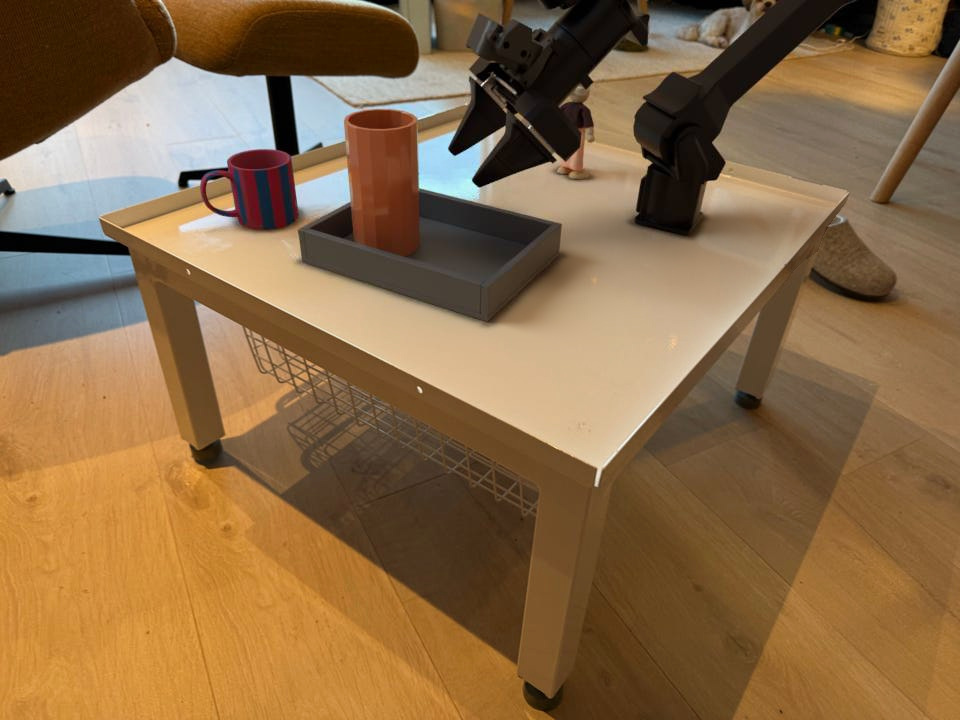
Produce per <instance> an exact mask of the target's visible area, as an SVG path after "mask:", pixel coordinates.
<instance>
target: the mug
mask: <svg viewBox="0 0 960 720" xmlns="http://www.w3.org/2000/svg"><path fill="white" fill-rule="evenodd" d="M226 163H227V170H211V171H208V172H206V173H205V174H203V176H202V177H201V180H200V184H199V190H200V196H201V199H202V201H203V203H204V205H205V207H206V208H207V209H208V210H210V211H211V212H213V213H215V214H216V215H219V216H221V217H226V218H236V220H237V222H238V223H239V224H240V225H241V226H242V227H244V228H246V229H250V230H256V231H271V230H277V229H282V228H286V227H288V226H290V225H292V224H294V223H295V222H296V221H297V220H298V219H299V216H300V214H299V205H298V197H297V190H296V182H295V176H294V175H295V174H294V169H293V160H292V156H291V154H289V153H288V152H285V151H283V150H279V149H271V148H259V149H258V148H257V149H249V150H244V151H240V152H237V153H234V154H232V155H231V156H229V158H228V159H227V160H226ZM214 177H223V178H226V179H227V180H229V182H230V188H231V193H232V198H233V205H234V209H232V210H224V209H220V208H218V207H216V206H215V207H214V206H213V204H211V202H210V201H209V199H208V195H207V185H208V182H209V181H210V180H211V179H213V178H214Z"/></svg>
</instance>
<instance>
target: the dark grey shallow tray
mask: <svg viewBox="0 0 960 720" xmlns="http://www.w3.org/2000/svg"><path fill="white" fill-rule="evenodd" d="M419 203H420V247H419V249H418V250H417V251H416V252H414V253H413V254H411V255H408V256H406V257H403V256H399V255H396V254H393V253H389V252H386V251H383V250H379V249H376V248H373V247H369V246H366V245H363V244H359V243H356V242H355V241H354V236H353V224H352V212H351V201H349V202H347V203H345V204H343V205H341V206H340V207H338V208H336V209H334V210H332V211H330V212H328V213H326V214H324V215H322V216H320V217H319V218H316V219H315V220H313V221H311V222H309V223H307V224H305V225H303V226H302V227H299V228H298V229H297V233H298V240H299V241H298V242H299V249H300V255H301V257H300V258H301V262H302V263H305V264H308V265H311V266H314V267H317V268H319V269H323V270H326V271H328V272H329V271H330V272H333V273H336V274H337V275H338V274H339V275H341V276H345V277H348V278H351V279H354V280H357V281H359V282H360V281H361V282H363V283H366V284H370V285H372V286H375V287H378V288H382V289H385V290H388V291H390V292H391V291H392V292H393V293H397V294H400V295H403V296H406V297H410V298H412V299H416V300H419V301H422V302H425V303H428V304H432V305H435V306H437V307H441V308H443V309H447V310H449V311H452V312H456V313H459V314H461V315H462V314H463V315H466V316H469V317H471V318H474V319H478V320H481V321H483V322H487V323H488V322H489V321H490V320H491V319H493V317H494V316H496V315H497V313H499V312H500V311H501V310H502V309H503V308H505V306H506V305H508V303H509V302H510V301H511V300H513V299H514V298H515V297H516V296H517V295H518V294H519V293H520V292H521V291H523V289H524V288H525V287H526V286H528V285H529V284H530V283H531V282H532V281H533V280H534V279H535V278H536V277H537V276H538V275H539V274H540V273H541V272H542V271H544V269H546V268H547V267H548V266H549V265H550V264H551V263H552V262H553V261H555V259H557V258H558V257H559V255H560V247H561V239H562V238H561V237H562V229H563V228H562V227H563V224H562V223H560V222H555V221H553V220H548V219H545V218H544V219H543V218H541V217H537V216H533V215H528V214H524V213H520V212H516V211H513V210H509V209H504V208H502V207H501V208H500V207H498V206H497V207H496V206H492V205H488V204H484V203H480V202H476V201H472V200H468V199H464V198H460V197H456V196H452V195H448V194H444V193H440V192H436V191H432V190H428V189H424V188H421V187H419Z"/></svg>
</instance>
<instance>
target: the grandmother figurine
mask: <svg viewBox="0 0 960 720" xmlns="http://www.w3.org/2000/svg"><path fill="white" fill-rule="evenodd" d="M589 77H590V78H591V76H590V75H589ZM591 86H592V85H590V86H589V87H588V88H587V90H585V89H584V88H582V87H581V86H578V87H577V88H576V89H575V90H574V91H573V92H572V94H571V95H570V96H569V99H570V100H571V101H566V102H565V103H562V104H561V105H560V106H559V108H560V109H561V110H562V111H563V112H564V113H565V115H566V116H567V117H568V118H569V119H570V120H571V121H572V123H573V124H574V125H575V126H576V127H577V128H578V129H579V131H580V132H581V133H582V135H581V144H580V148H579V149H578V150H577V151H576V152H575V153H574V154H573V155H572V156H571V157H570V158H569V159H568V160H567V161H566V162H565V161H564V160H563V159H561V158H560V167H558V169H557V172H556V173H558V174H559V175H560V174H561V175H568V177H569V178H570V179H572V180H581V179H582V180H584V179H588V178H589V177H590V174H589V171H588V170H586V169H585V168H584V155H585V153H584V152H585V141H586V142H587V143H591V144H592V143H593V142H595V140H596V138H595V124H594V120H593V117H592V111H591V109H590V108H589V107H588V106H587V105H585V104H584V103H585V102H586V101H588V99H589V97H590V93H591V92H590V91H591V90H590V88H591Z"/></svg>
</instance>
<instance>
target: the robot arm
mask: <svg viewBox="0 0 960 720" xmlns="http://www.w3.org/2000/svg"><path fill="white" fill-rule="evenodd" d="M537 1H538V2H539V4H540V5H541V6H542V8H543V9H544V10H549V11H550V10H554V9H557V8H558V9H559V10H560V11H564V12H563V13H561V15H560V16H559V17H558V18H557V19H556V21H555V22H554V23H553V24H552V25H551V26H550V27H549V28H548V30H547V31H546V30H545V29H544V28H541V27H539V28H535V29H534V30H533V28H532V27H530V26H528V25H526V24H524V23H522V22H521V21H519V20H517V19H515V18H512V19H510V20H509V21H508V22H507V23H506V24H505V25H504V24H503V23H500V22H498V21H496V20H494V19H492V18H490V17H488V16H486V15H485V14H482V13H480V12H478V13H477V16H476V18H475V21H474V24H473V26H472V28H471V30H470V32H469V35H468V37H467V40H466V42H465V45H464V46H465V48H467V49H471V50H472V53H473V54H475V55H476V56H478V57H477V59H476V60H475V61H474V62H473V64H471V66H470V67H469V68H468V70H469V72H470V73H471V74H472V75H473V76H474V77H475V78H476V79H474V78H473V77H472V76H471V75H469V76H468V83H469V86H470V87H469V88H470V89H469V90H470V101H469V103H468V106H467V108H466V110H465V113H464V115H463V117H462V119H461V122H460V123H459V125H458V126H457V128H456V130H455V133H454V135H453V137H452V138H451V141H450V143H449V145H448V147H447V150H448V152H450V154H451V155H453V156H454V157H456V156H458V155H460V154H462V153H464V152H465V151H467V150H470V149H471V148H472V147H474V146H475V145H477V144H479V143H481V142H482V141H483V140H486V139H487V138H488V137H490V136H491V135H493V134H495V133H496V132H498V131H500V130H501V129H503V128H504V129H505V130H504V133H503V135H502V136H501V138H500V139H499V140H498V142H497V143H496V144H495V146H493V149H492V150H491V151H490V152H489V154H488V155H487V157H486V158H485V159H484V161H483V162H482V163H481V164H480V166H479V167H478V169H477V170H476V172H475V173H474V175H473V177H472V178H471V182H472V183H473V184H474V185H475V186H476V187H477V188H479V189H480V188H483V187H485V186H488V185H490V184H493V183H496V182H498V181H500V180H503V179H505V178H508V177H510V176H513V175H516V174H518V173H522V172H524V171H526V170H530V169H533V168H536V167H539V166H541V165H545V164H548V163H551V164H555V163H556V162H558V159H557V158H556V157H555V156H554V155H553V154H556V155H557V156H558V157H559V158H560V160H561V159H563V160H564V161H565V162H566V161H567V160H568V159H569V158H570V157H571V156H572V155H573V154H574V153H575V152H576V151H577V150H578V149H579V148H580V144H581V135H582V133H581V132H580V131H579V129H578V128H577V127H576V126H575V125H574V124H573V123H572V121H571V120H570V119H569V118H568V117H567V116H566V115H565V113H564V112H563V111H562V110H561V109H560V108H559V107H561V106H562V105H563V104H564V102H565V101H566V100H567V99H568V98H570V95H571V94H572V92H573V91H574V90H575V89H576V88H577V87H578V86H581V87H582V88H584V89H585V90H587V88H588V87H589V86H592V84H593V83H594V80H593V79H592V78H591V76H590V74H592V73H593V71H594V70H596V68H597V67H598V66H599V65H600V64H601V62H603V61H604V60H605V58H607V57H608V56H609V54H610V53H611V52H612V51H613V50H614V49H615V48H616V47H617V46H618V45H619V44H620V43H621V42H622V41H623V39H624V38H625V39H626V40H627V41H630V42H633V43H635V44H637V45H638V46H641V47H646V46H647V45H648V43H649V23H650V20H651V15H650V14H648V13H646V12H644V11H641V10H635V9H634V7H633V6H632V5H631V3H630V2H629V0H537ZM645 1H647V2H648V3H653V4H658V5H660V4H665V3H669V2H671V1H672V0H645ZM856 1H857V0H777V1H776V2H775V3H774V4H773V5H771V7H769V8H768V9H767V11H765V12H764V13H763V14H762V15H761V16H760V17H759V18H758V19H757V20H755V21H754V22H753V23H752V24H751V25H750V26H749V27H748V28H747V29H746V30H745V31H743V32H742V33H741V34H740V35H739V36H738V37H737V38H736V39H735V40H734V41H732V43H731V44H729V45H728V46H727V47H726V48H725V49H724V50H723V51H722V52H721V53H720V54H719V55H717V57H715V58H714V60H712V61H711V62H710V63H709V64H708V65H706V67H704V69H702V70H701V71H700V72H698V73H696V74H694V75H692V76H689V77H686V76H684V75H682V74H679V73H678V72H675V71H671V72H670V73H669V74H667V76H665V77H664V78H663V80H662V81H661V82H660V83H659V85H658V86H656V88H655V89H653V90H652V91H650V93H647V94H645V95H643V96H642V100H644V102H643V103H642V104H641V106H639V108H637V110H636V112H635V115H634V117H633V118H634V121H633V126H632V127H633V128H632V129H633V130H632V131H633V136H634V139H635V141H636V142H637V144H639V145H640V149H641V155H642V158H643V159H645V160H647V161H649V162H650V164H649V165H648V166H647V170H646V174H645V175H644V176H643V177H641V178H640V183H639V189H638V194H637V199H636V200H637V201H636V206H635V212H636V213H638V214H637V215H636V216H635V217H634V220H633V223H635V224H639V225H642V226H647V227H651V228H654V229H655V228H656V229H660V230H664V231H668V232H671V233H675V234H681V235H684V236H685V235H686V236H689V235H690V234H691V233H692V231H694V229H695V227H696V226H697V225H698V224H699V223H700V221H701V220H702V218H703V216H704V212H703V211H701V210H702V206H703V202H704V196H705V192H706V189H707V184H708V182H713V181H714V182H715V181H717V180H718V179H719V177H720V174H721V173H722V171H723V169H724V168H725V166H726V164H727V163H726V160H725V158H724V157H723V156H722V154H721V152H719V150H718V149H717V148H716V146H715V145H714V144H713V143H714V141H715V140H717V138H718V137H719V135H720V134H721V132H722V130H723V127H724V125H725V123H726V120H727V117H728V114H729V112H730V109H731V108H732V107H733V106H734V105H735V104H736V103H737V102H738V101H739V100H740V99H741V98H742V97H744V96H745V95H746V94H747V93H748V92H749V91H750V90H751V89H752V88H754V87H755V86H756V85H757V84H758V83H759V82H760V81H761V80H762V79H763V78H764V77H766V75H768V74H769V73H771V71H772V70H773V69H774V68H775V67H777V66H778V65H779V64H780V63H781V62H782V61H784V59H786V58H787V57H788V56H789V55H790V54H791V53H792V52H794V51H795V49H797V48H798V47H799V46H800V45H801V44H802V43H803V42H804V41H805V40H807V39H808V38H809V37H810V36H811V35H812V34H813V33H814V32H816V31H817V30H818V29H819V28H820V27H821V26H822V25H823V24H824V23H825V22H827V21H828V20H829V19H830V18H831V17H832V16H833V15H834V14H835V13H837V12H838V11H839V10H840V9H842V8H844V6H846V5H848V4H852V3H854V2H856ZM589 76H590V77H589ZM504 109H505V110H506V111H505V110H504ZM517 114H519V115H520V117H522V119H521V120H520V119H519V118H518V117H517V116H516V115H517Z"/></svg>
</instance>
